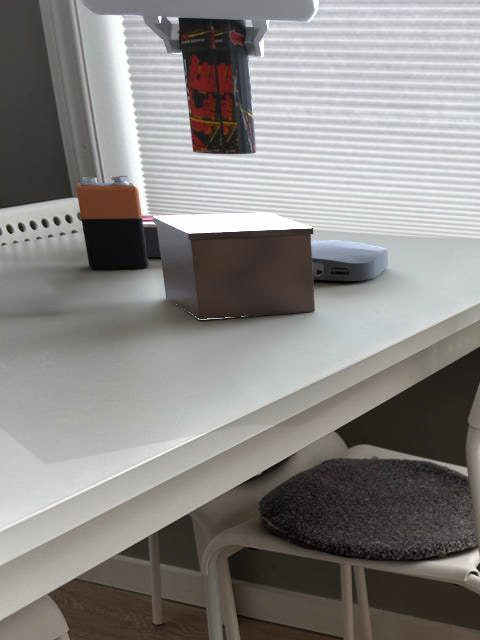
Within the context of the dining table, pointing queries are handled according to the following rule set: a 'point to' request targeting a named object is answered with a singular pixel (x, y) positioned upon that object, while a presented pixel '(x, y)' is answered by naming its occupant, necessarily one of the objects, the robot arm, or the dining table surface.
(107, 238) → the battery
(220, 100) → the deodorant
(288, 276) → the walnut box
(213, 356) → the dining table surface
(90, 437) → the dining table surface
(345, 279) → the media streaming box
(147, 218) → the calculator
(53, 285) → the dining table surface
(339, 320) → the dining table surface
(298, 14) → the robot arm
